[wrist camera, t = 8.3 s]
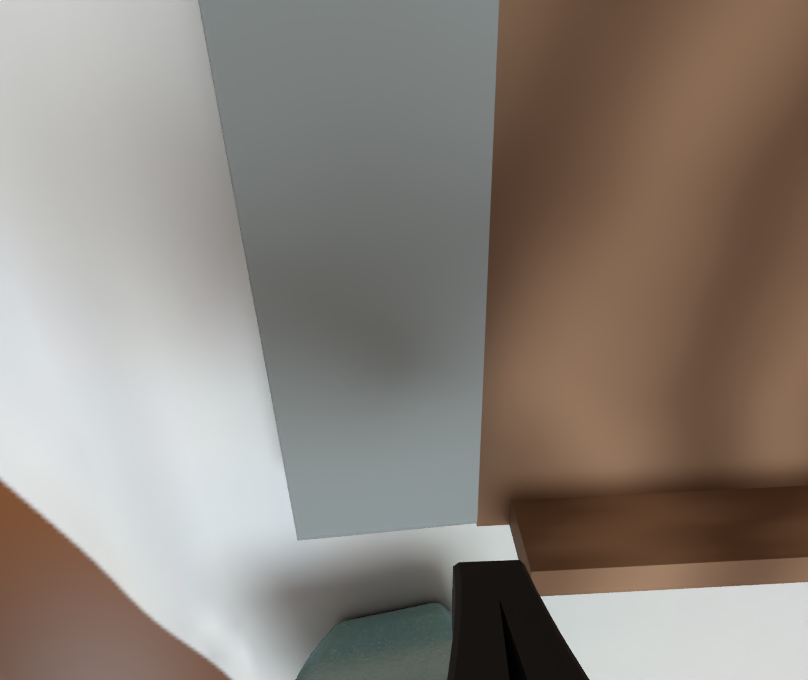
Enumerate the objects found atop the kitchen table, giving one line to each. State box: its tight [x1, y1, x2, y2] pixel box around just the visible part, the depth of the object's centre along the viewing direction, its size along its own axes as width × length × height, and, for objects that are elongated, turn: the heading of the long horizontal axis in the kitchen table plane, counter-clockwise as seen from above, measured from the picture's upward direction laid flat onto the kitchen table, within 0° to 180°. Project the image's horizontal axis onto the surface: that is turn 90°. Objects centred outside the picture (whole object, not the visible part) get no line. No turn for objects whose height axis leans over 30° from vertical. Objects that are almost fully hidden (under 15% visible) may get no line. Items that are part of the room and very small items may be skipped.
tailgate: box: [198, 0, 499, 540], centre depth 15 cm, size 2×17×6 cm
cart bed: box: [477, 0, 808, 596], centre depth 15 cm, size 16×20×4 cm
